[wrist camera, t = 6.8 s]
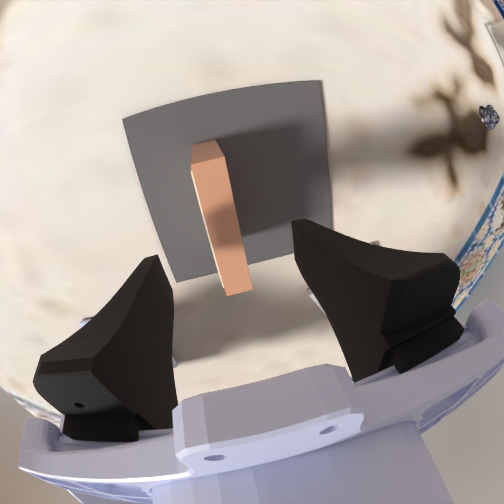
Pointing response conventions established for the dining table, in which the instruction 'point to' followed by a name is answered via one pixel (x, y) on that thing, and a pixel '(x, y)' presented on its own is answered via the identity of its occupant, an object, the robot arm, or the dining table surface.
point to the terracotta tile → (220, 216)
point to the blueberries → (489, 116)
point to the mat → (235, 169)
